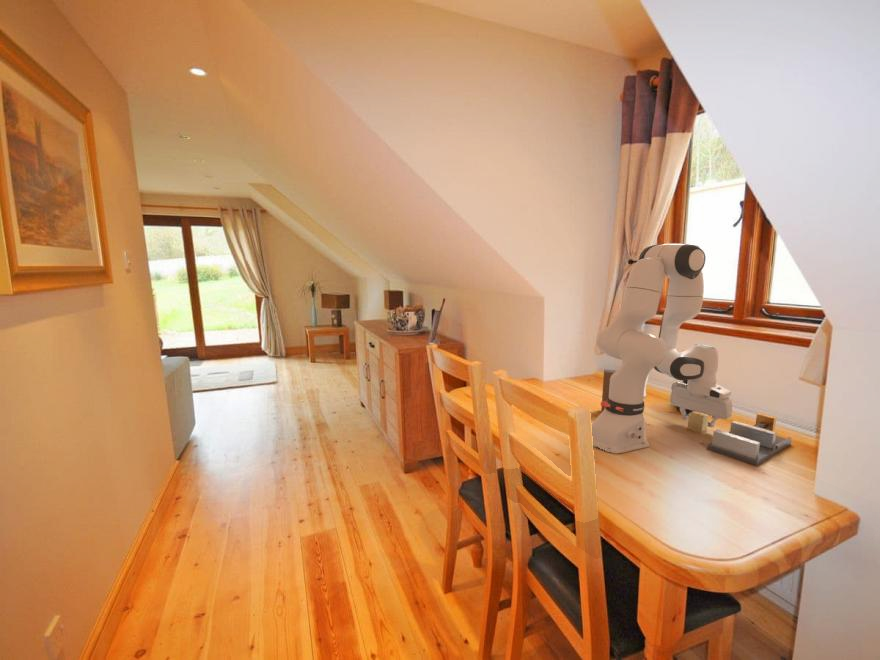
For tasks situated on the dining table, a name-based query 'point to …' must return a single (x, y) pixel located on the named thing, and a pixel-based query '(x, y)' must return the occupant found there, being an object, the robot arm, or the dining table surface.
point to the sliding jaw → (757, 430)
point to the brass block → (697, 421)
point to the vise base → (761, 454)
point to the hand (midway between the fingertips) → (697, 422)
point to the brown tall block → (606, 385)
